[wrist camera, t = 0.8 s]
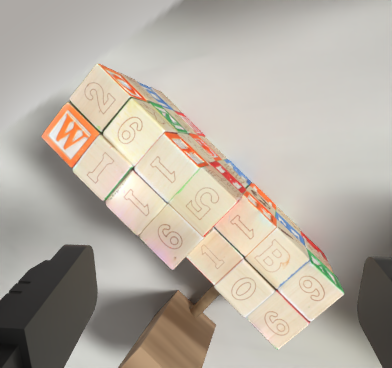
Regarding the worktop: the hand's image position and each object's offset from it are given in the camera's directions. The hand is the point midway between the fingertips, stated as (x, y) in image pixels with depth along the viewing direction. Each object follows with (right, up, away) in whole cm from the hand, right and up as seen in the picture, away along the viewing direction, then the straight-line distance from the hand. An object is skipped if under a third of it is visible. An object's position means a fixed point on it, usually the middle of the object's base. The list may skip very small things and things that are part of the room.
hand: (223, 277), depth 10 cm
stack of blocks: (+1, +2, +23) cm, 23 cm away
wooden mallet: (0, -9, +24) cm, 25 cm away
